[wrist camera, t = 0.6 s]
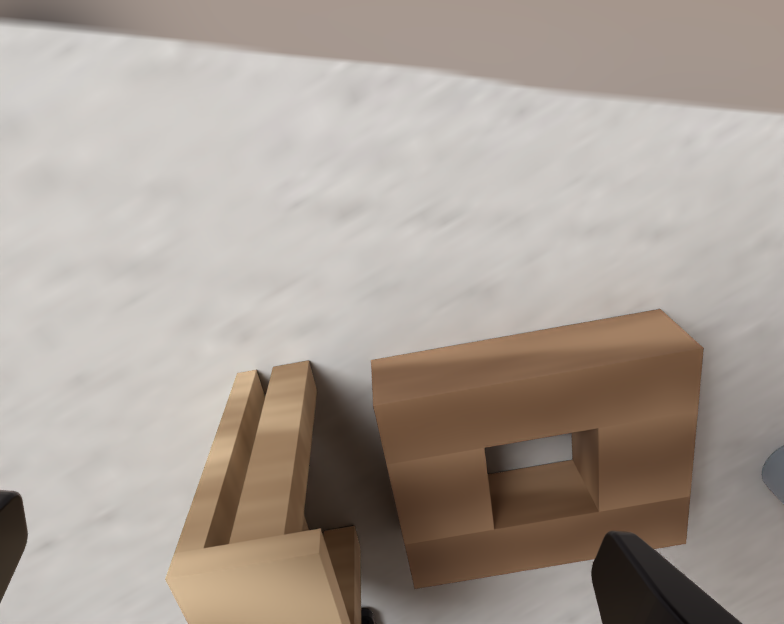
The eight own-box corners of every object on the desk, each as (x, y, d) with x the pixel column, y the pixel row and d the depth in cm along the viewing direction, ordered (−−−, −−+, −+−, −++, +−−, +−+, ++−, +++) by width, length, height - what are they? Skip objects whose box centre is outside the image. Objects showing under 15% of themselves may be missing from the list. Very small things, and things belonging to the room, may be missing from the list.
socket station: (651, 498, 28) (788, 713, 19) (301, 557, 28) (276, 795, 19) (660, 298, 23) (852, 462, 14) (237, 373, 23) (164, 579, 14)
